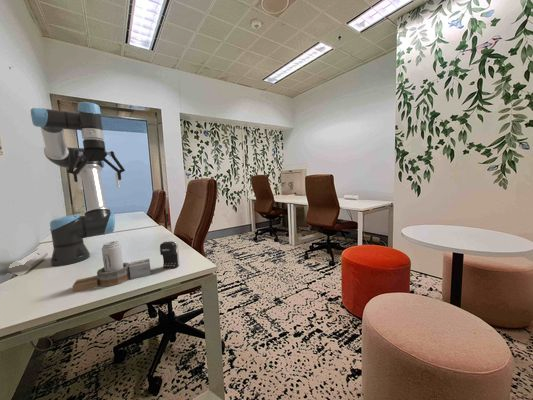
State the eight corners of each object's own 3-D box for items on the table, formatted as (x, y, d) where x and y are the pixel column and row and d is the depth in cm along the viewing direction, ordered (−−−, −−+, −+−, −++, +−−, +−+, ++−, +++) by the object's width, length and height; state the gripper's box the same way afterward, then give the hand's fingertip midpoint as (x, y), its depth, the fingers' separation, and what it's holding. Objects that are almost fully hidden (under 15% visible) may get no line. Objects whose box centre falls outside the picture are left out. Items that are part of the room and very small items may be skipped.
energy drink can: (102, 283, 83) (96, 245, 82) (115, 276, 89) (110, 240, 88) (115, 283, 82) (110, 245, 81) (128, 276, 88) (123, 240, 86)
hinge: (79, 283, 84) (77, 270, 84) (150, 267, 96) (149, 256, 95) (71, 295, 75) (69, 281, 75) (150, 276, 87) (149, 263, 86)
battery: (160, 269, 94) (157, 243, 93) (166, 265, 97) (163, 240, 96) (175, 269, 93) (172, 243, 92) (180, 265, 96) (177, 240, 95)
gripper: (52, 137, 86) (60, 190, 88) (126, 139, 98) (132, 186, 100) (58, 140, 93) (66, 190, 95) (127, 142, 104) (133, 186, 107)
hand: (100, 188), depth 97 cm, fingers open, 13 cm apart
